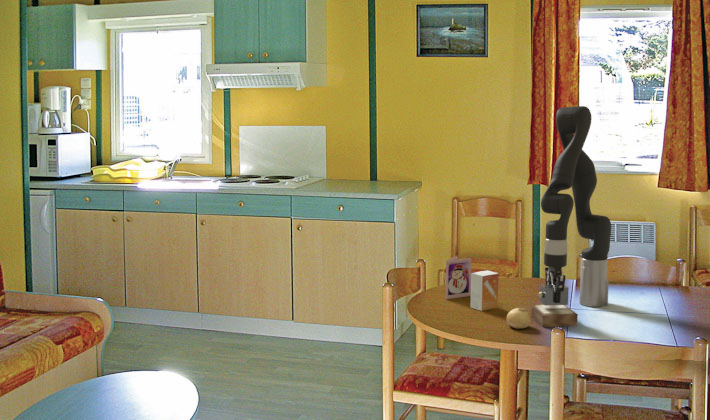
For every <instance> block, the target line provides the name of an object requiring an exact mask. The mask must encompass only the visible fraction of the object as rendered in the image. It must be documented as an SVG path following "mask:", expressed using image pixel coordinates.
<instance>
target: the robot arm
mask: <svg viewBox="0 0 710 420" xmlns="http://www.w3.org/2000/svg"><path fill="white" fill-rule="evenodd" d="M591 112H592V111H591V110H590V109H589V107H587V106H584V105H580V106H578V105H577V106H565V107H560V108H559V109H558V110H557V111H556V115H555V123H556V129H557V131H558V135H559V139H560V142H561V145H562V148H563V151H562V152H561V153H560V154H559V156H558V157H557V159H556V161H555V163H554V167H553V170H552V175H551V180H550V182H549V184H548V186H547V188H546V190H545V192H544V193H543V195H542V198H541V201H540V208H541V210H542V211H543V213H545V214H549V215H550V214H553V215H560V216H559V218H558V219H554V220H549V221H547V222H546V223H545V241H544V248H543V249H544V251H543V252H544V253H543V265H544V266H546V267H544V278H545V279H544V280H545V285H550V284H552V285H553V288H554V300H553V302H554V303H560V299H561V292H563V291H564V285H565V284H566V275H564V274H563V270H562V268H564V267H566V266H567V262H568V241H567V240H568V225H569V221H570V218H571V214H572V211H573V209H574V208H575V209H574V210H575V220H576V221H575V222H576V228H577V232H578V235H579V236H580V237H581V238H582V239H587V240H592V241H593V244H592V246H591V247H588V248H584V249H582V250H581V255H580V256H581V257H580V258H581V260H580V280H579V281H580V283H579V284H580V285H579V287H580V289H579V304H580V305H583V306H586V307H594V308H597V307H599V308H600V307H604V306H608V305H609V284H610V283H609V279H608V278H607V277H608V256H609V253H610V248H611V247H610V246H611V237H612V236H611V235H612V222H611V219H610V218H609V217H608V216H606V215H602V214H601V215H599V214H593V213H592V210H591V206H590V205H591V204H590V203H591V202H590V201H591V198H592V196H593V194H594V192H595V190H596V187H597V183H598V179H597V178H598V177H597V172H596V168H595V167H596V166H595V164H594V162H593V160H592V159H591V157H590V156H589V155H588V154H587V153H586V152H585V151H584V150H583V148H584V145H585V142H586V141H587V137H588V135H589V132H590V129H591V125H592V118H593V117H592V113H591ZM569 189H571V190H572V195H571V194H568V193H561V191H565V190H569ZM559 192H560V193H559ZM572 196H573V197H572ZM561 286H562V287H561ZM565 286H566V285H565Z"/></svg>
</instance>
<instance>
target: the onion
mask: <svg viewBox="0 0 710 420" xmlns="http://www.w3.org/2000/svg"><path fill="white" fill-rule="evenodd" d="M531 318H532V317H531V314H530V313H529V312H528V311H527V310H526V306H525V307H523V308H521V307H520V308H519V307H515V308H513V309H511V310H510V311H509V312H508V313H507V314H506V319H505V321H506V323H507V324H508V326H509V327H510V328H514V329H518V330H520V329H526V328H527V327H529V326H530V325H531V320H532V319H531Z"/></svg>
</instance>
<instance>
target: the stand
mask: <svg viewBox="0 0 710 420" xmlns="http://www.w3.org/2000/svg"><path fill="white" fill-rule="evenodd" d="M530 311H531V312H530V317H531V318H532V319H533V321H535V322H536V323H537V324H538V325H539V326H541V327H542V328H554V327H555V328H557V327H577V326H578V313H577V312H575V311H574V310H572V309H571V308H570V307H568V306H567V305H547V306H545V305H544V304H538V305H537V304H536V305H531V308H530Z"/></svg>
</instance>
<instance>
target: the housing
mask: <svg viewBox="0 0 710 420" xmlns="http://www.w3.org/2000/svg"><path fill="white" fill-rule="evenodd" d="M561 287H562V286H561ZM537 296H538V298H539V299H540V300H539V303H541V305H545V306H547V305H566V306H567V305H569V286H567V285H564V291H563V292H561V299H560V303H554V302H553V300H554V288H553V285H552V284H550V285H546V284H540V291H539V292H538V295H537Z"/></svg>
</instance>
